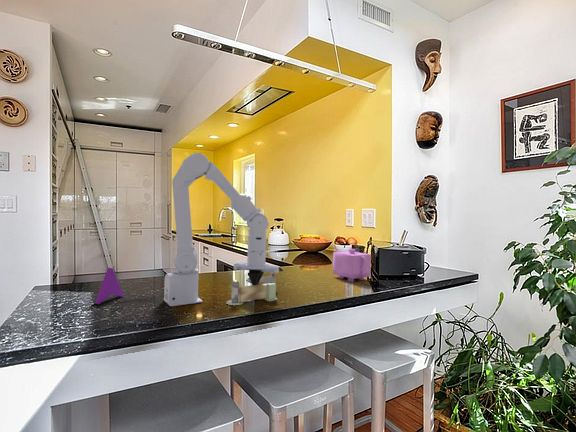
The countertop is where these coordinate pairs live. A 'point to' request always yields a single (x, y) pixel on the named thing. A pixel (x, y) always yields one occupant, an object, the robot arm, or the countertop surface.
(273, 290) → the latch post
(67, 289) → the countertop surface
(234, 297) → the hinge post
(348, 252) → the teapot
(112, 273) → the arrowhead
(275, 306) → the countertop surface
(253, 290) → the gate
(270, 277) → the caliper
